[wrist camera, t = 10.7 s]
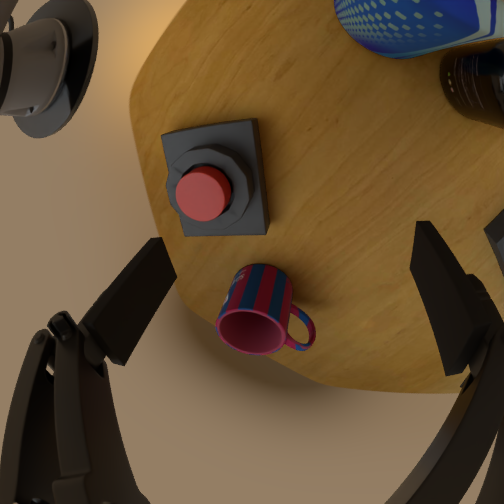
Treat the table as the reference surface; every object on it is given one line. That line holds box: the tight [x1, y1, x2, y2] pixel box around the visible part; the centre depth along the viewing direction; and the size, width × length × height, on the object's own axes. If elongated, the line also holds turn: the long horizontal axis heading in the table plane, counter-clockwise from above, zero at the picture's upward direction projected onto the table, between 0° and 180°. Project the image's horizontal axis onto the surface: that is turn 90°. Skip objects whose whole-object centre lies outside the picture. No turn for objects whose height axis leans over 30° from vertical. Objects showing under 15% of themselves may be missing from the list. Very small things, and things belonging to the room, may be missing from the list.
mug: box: [216, 264, 316, 355], centre depth 27 cm, size 7×10×7 cm
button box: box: [161, 118, 270, 236], centre depth 22 cm, size 10×8×4 cm
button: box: [176, 166, 231, 221], centre depth 20 cm, size 4×4×2 cm
